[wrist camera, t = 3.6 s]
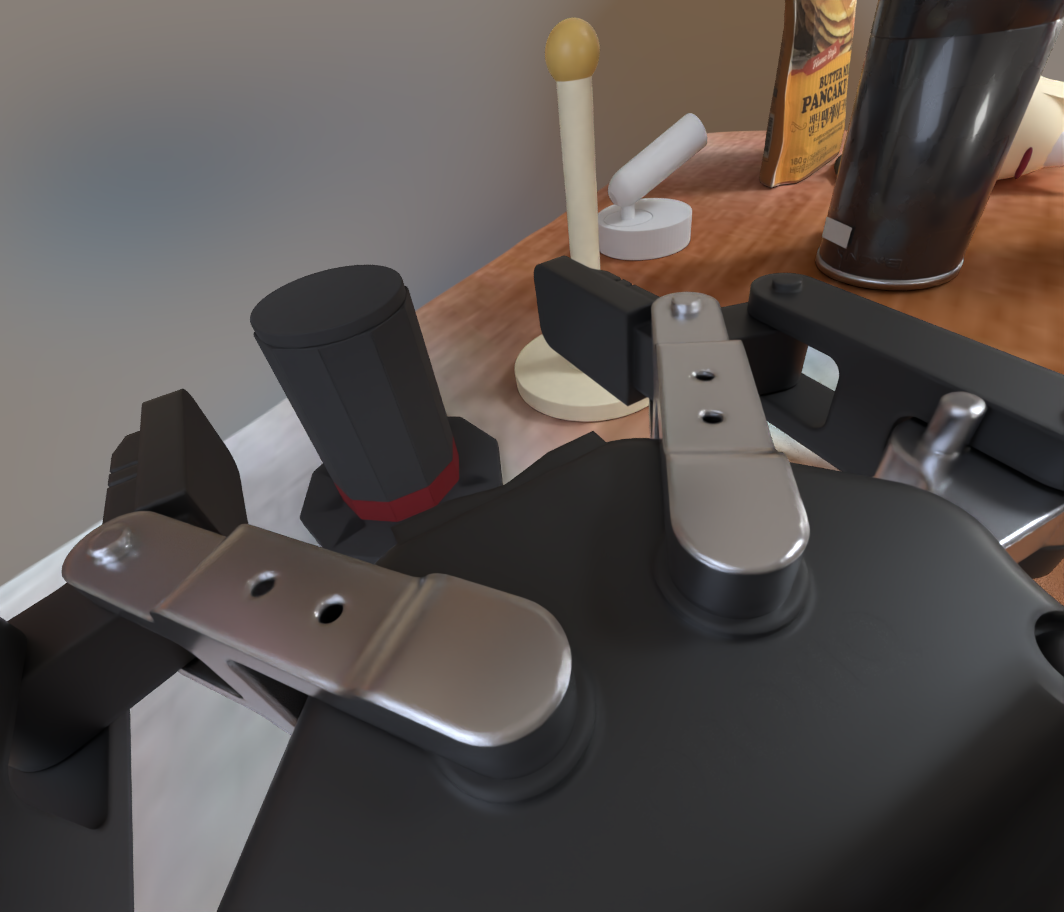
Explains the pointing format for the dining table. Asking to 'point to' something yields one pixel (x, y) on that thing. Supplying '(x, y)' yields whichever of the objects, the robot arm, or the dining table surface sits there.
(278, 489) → the dining table surface
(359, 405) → the hat
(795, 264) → the dining table surface
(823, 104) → the pancake mix bag
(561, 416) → the hat stand
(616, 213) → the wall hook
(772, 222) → the dining table surface
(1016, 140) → the cartoon head
